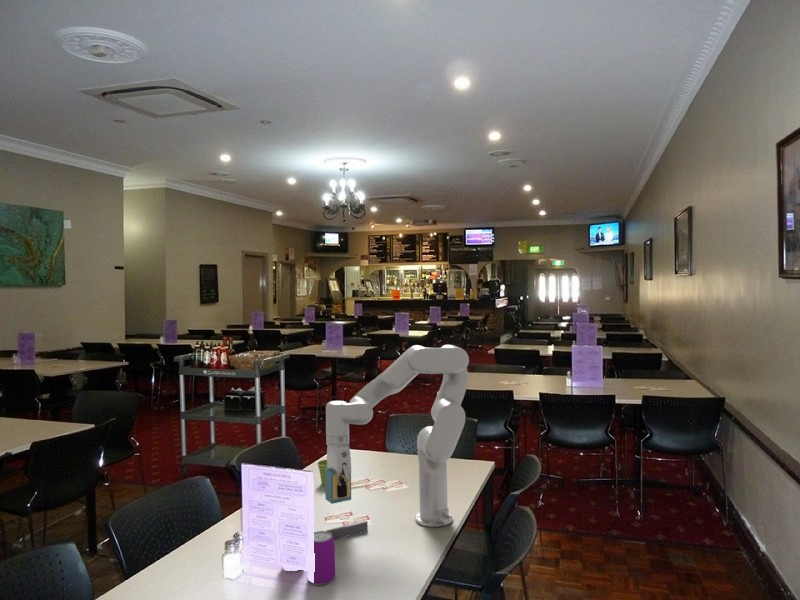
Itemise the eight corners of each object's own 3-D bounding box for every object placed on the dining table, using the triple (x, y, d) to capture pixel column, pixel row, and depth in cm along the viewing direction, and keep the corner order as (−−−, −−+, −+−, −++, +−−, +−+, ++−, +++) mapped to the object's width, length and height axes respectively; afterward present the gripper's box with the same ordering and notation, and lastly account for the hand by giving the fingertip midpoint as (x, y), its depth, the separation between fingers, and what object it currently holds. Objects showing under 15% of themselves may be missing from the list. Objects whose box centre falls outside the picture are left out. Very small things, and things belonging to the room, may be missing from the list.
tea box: (325, 499, 190) (325, 469, 190) (344, 495, 193) (344, 465, 193) (331, 504, 185) (331, 473, 185) (351, 499, 189) (351, 469, 189)
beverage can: (301, 581, 156) (300, 537, 155) (320, 570, 162) (319, 527, 162) (322, 589, 151) (321, 544, 151) (341, 577, 158) (340, 533, 157)
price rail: (367, 530, 188) (367, 521, 188) (327, 541, 181) (327, 531, 181) (362, 527, 191) (362, 518, 191) (323, 537, 184) (323, 527, 184)
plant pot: (312, 483, 236) (312, 462, 236) (331, 478, 242) (331, 457, 242) (325, 489, 229) (325, 467, 229) (345, 483, 235) (344, 462, 235)
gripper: (359, 443, 184) (360, 499, 184) (337, 432, 198) (338, 484, 199) (337, 446, 180) (338, 504, 180) (317, 435, 195) (317, 488, 195)
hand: (338, 493), depth 189 cm, fingers closed on tea box, 5 cm apart
